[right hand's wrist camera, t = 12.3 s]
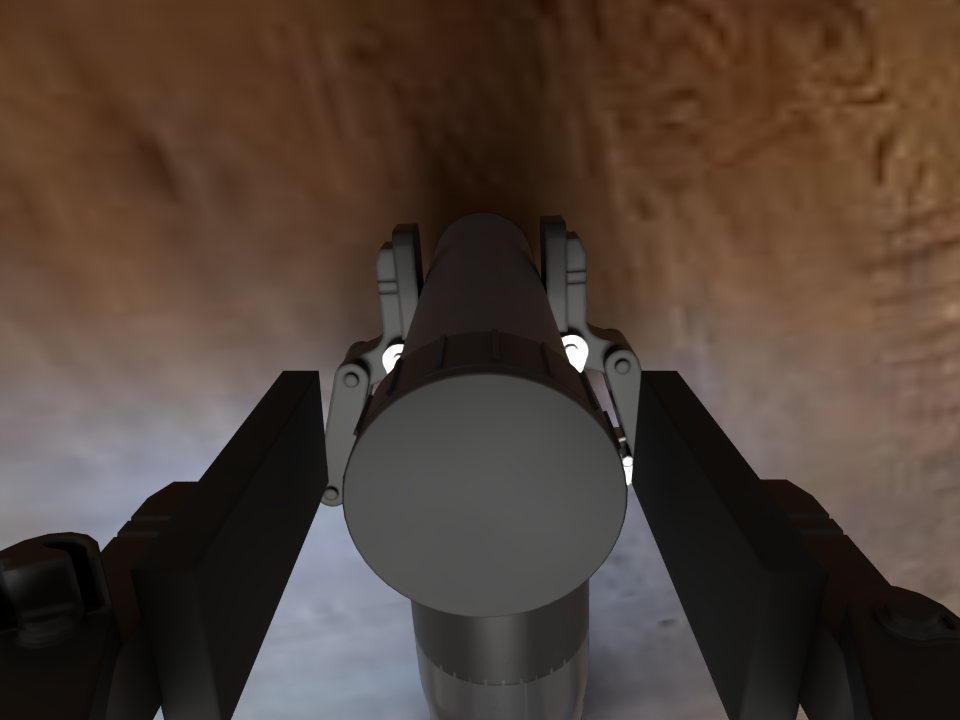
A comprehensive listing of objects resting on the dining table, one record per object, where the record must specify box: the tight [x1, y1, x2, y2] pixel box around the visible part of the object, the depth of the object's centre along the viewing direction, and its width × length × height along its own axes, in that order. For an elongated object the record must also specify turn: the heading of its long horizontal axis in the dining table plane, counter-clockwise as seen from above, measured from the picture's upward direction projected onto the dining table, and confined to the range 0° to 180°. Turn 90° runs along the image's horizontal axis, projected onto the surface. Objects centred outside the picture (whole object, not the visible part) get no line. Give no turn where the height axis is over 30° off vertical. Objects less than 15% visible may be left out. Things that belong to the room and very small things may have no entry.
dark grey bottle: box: [400, 213, 570, 362], centre depth 21 cm, size 4×4×19 cm
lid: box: [342, 328, 628, 617], centre depth 12 cm, size 5×5×2 cm
